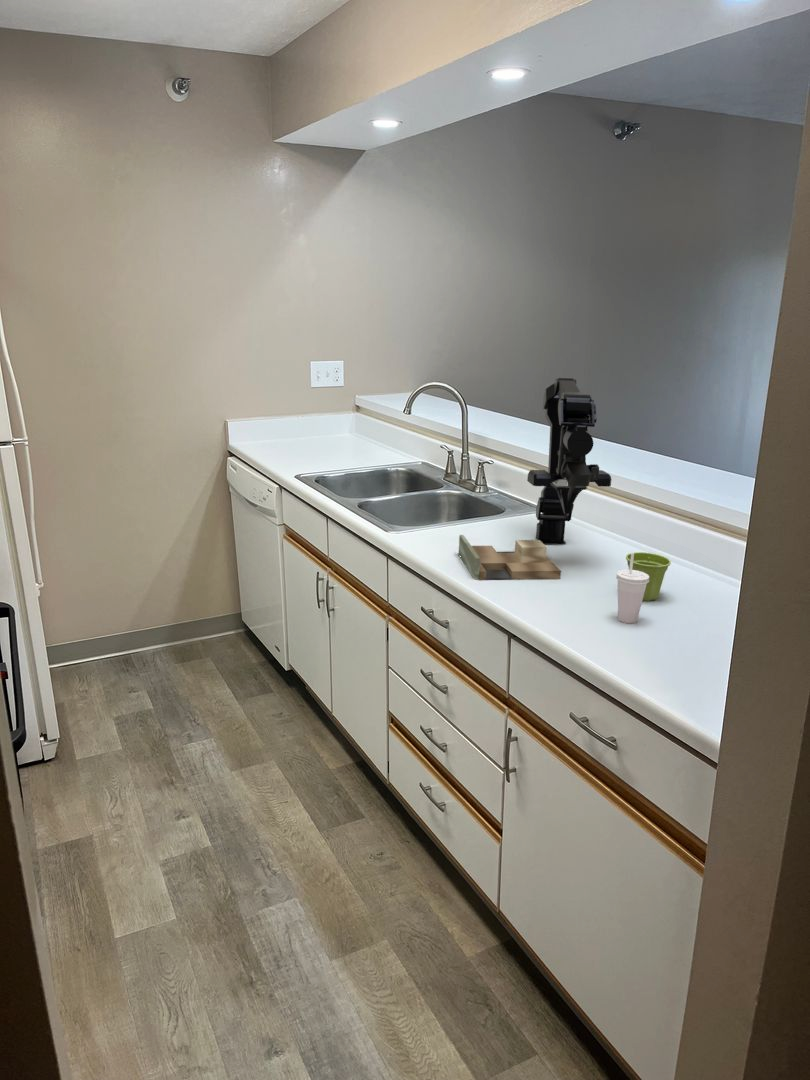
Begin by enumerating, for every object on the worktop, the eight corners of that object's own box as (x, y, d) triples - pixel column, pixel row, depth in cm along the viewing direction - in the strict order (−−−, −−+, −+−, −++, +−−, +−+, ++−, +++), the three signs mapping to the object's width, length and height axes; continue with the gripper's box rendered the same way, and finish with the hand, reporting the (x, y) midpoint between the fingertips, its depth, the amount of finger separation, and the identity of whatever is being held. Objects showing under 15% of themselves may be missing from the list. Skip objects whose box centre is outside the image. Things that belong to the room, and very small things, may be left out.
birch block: (538, 553, 198) (539, 539, 197) (545, 561, 192) (546, 547, 191) (514, 553, 197) (515, 540, 196) (521, 561, 191) (522, 547, 190)
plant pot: (666, 592, 179) (671, 555, 177) (665, 606, 171) (670, 568, 168) (623, 586, 182) (627, 550, 180) (619, 600, 174) (624, 562, 171)
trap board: (535, 552, 205) (537, 533, 204) (560, 579, 186) (562, 558, 185) (458, 553, 202) (459, 534, 201) (475, 580, 183) (476, 559, 182)
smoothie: (606, 613, 166) (614, 548, 162) (637, 613, 166) (645, 548, 162) (617, 626, 160) (625, 558, 156) (648, 626, 160) (657, 558, 156)
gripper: (543, 454, 179) (537, 522, 183) (623, 455, 181) (616, 522, 186) (529, 445, 190) (524, 510, 194) (605, 446, 192) (599, 510, 196)
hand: (566, 513), depth 192 cm, fingers closed
